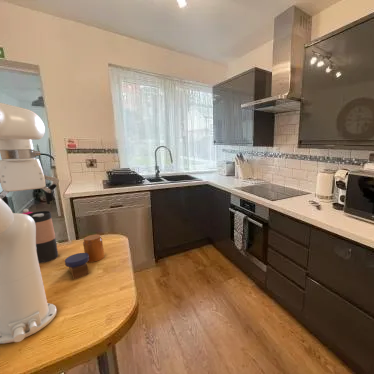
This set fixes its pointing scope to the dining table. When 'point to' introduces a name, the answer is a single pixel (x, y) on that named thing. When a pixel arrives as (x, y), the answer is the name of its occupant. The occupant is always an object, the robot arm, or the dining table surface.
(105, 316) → the dining table surface
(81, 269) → the stand
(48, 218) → the travel mug
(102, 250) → the jam jar
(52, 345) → the dining table surface
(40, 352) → the dining table surface
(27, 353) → the dining table surface
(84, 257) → the jar lid
